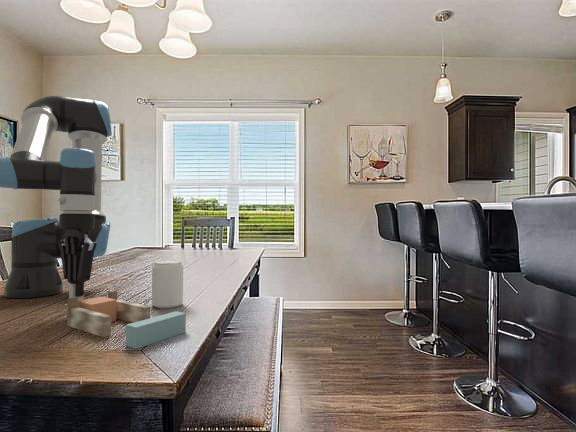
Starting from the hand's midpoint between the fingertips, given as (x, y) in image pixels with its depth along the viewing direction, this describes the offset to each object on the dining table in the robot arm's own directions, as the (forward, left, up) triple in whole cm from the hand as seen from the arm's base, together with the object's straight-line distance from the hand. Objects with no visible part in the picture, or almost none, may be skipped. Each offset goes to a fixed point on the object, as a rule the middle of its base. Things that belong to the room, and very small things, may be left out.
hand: (76, 309), depth 90 cm
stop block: (+30, 0, -2) cm, 30 cm away
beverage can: (+10, +19, -2) cm, 22 cm away
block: (+8, 0, -2) cm, 9 cm away
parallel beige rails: (+13, 0, -2) cm, 14 cm away
